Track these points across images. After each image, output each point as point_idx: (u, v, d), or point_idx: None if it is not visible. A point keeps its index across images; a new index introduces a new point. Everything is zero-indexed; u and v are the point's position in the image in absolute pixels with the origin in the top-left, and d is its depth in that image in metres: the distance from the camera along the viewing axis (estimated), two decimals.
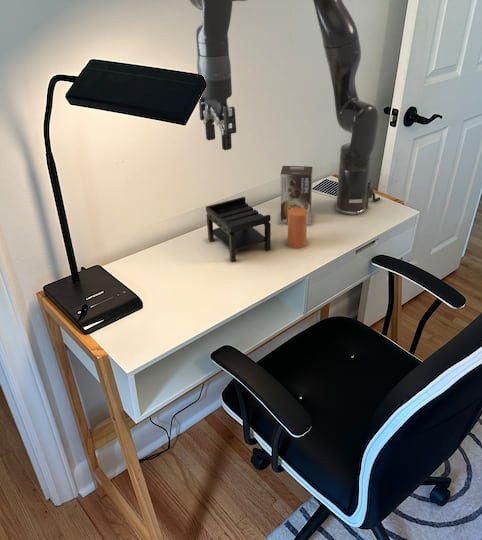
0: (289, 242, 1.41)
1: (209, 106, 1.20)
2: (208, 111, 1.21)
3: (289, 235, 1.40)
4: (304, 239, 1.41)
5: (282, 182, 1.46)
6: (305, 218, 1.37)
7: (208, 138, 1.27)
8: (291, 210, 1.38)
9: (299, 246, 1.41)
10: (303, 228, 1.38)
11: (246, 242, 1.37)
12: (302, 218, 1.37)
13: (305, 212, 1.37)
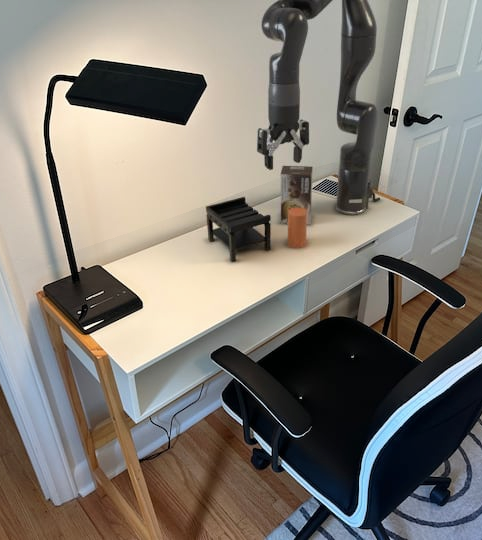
0: (289, 242, 1.41)
1: None
2: None
3: (289, 235, 1.40)
4: (304, 239, 1.41)
5: (282, 182, 1.46)
6: (305, 218, 1.37)
7: (294, 159, 1.33)
8: (291, 210, 1.38)
9: (299, 246, 1.41)
10: (303, 228, 1.38)
11: (246, 242, 1.37)
12: (302, 218, 1.37)
13: (305, 212, 1.37)
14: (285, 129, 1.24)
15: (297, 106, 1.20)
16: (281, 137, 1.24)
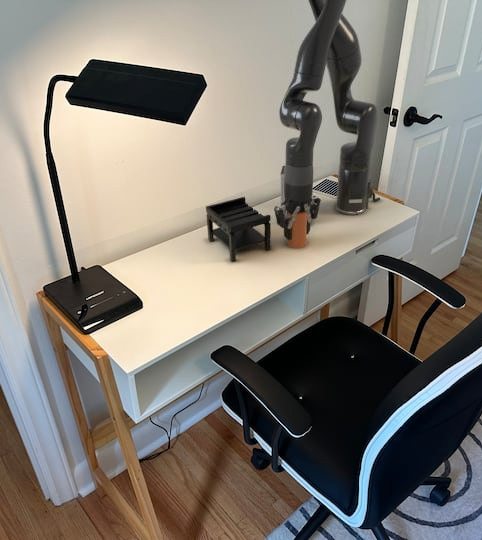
0: (289, 242, 1.41)
1: None
2: None
3: None
4: (304, 239, 1.41)
5: (282, 182, 1.46)
6: (305, 218, 1.37)
7: None
8: None
9: (299, 246, 1.41)
10: (303, 228, 1.38)
11: (246, 242, 1.37)
12: (302, 218, 1.37)
13: (305, 212, 1.37)
14: (299, 203, 1.35)
15: (310, 185, 1.32)
16: (295, 211, 1.35)
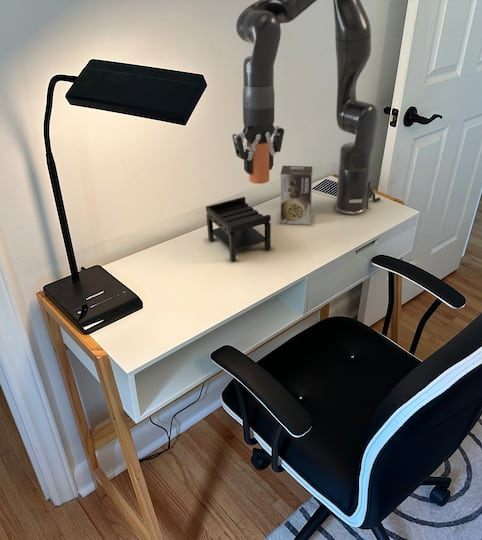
0: (250, 177, 1.30)
1: None
2: None
3: None
4: (267, 174, 1.29)
5: (282, 182, 1.46)
6: (267, 149, 1.26)
7: None
8: None
9: (261, 181, 1.29)
10: (265, 160, 1.27)
11: (246, 242, 1.37)
12: (263, 148, 1.25)
13: None
14: (260, 132, 1.24)
15: (271, 109, 1.20)
16: (255, 140, 1.24)
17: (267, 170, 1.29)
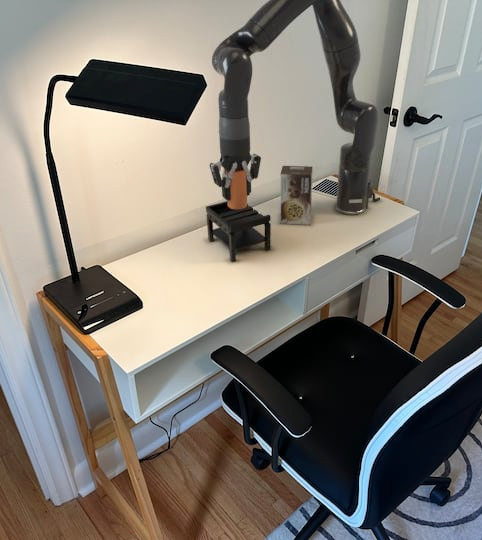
0: (228, 203, 1.34)
1: None
2: None
3: None
4: (244, 200, 1.33)
5: (282, 182, 1.46)
6: (244, 177, 1.30)
7: None
8: None
9: (239, 207, 1.33)
10: (242, 187, 1.31)
11: (246, 242, 1.37)
12: (240, 176, 1.29)
13: None
14: (236, 160, 1.28)
15: (246, 139, 1.24)
16: (232, 168, 1.28)
17: (244, 196, 1.33)
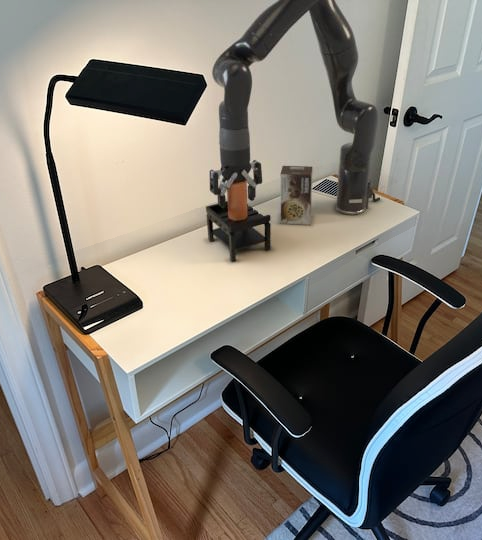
0: (229, 214, 1.36)
1: None
2: None
3: (229, 207, 1.34)
4: (244, 211, 1.35)
5: (282, 182, 1.46)
6: (244, 188, 1.32)
7: (248, 197, 1.38)
8: None
9: (239, 218, 1.35)
10: (242, 199, 1.33)
11: (246, 242, 1.37)
12: (240, 188, 1.31)
13: (244, 182, 1.32)
14: (236, 170, 1.29)
15: (246, 150, 1.25)
16: (232, 178, 1.29)
17: (245, 207, 1.35)
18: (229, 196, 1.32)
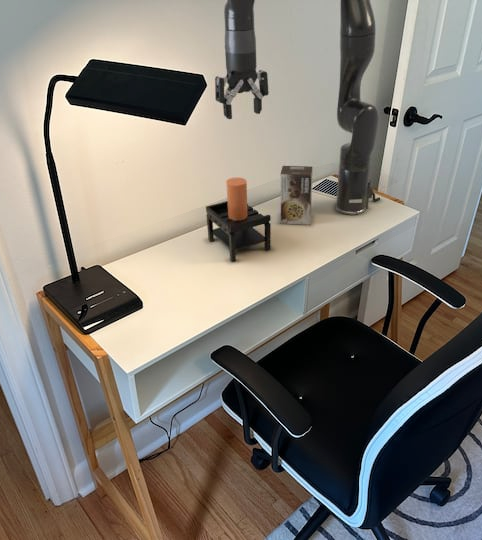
0: (229, 214, 1.36)
1: None
2: None
3: (229, 207, 1.34)
4: (244, 211, 1.35)
5: (282, 182, 1.46)
6: (244, 188, 1.32)
7: (254, 110, 1.35)
8: (230, 180, 1.33)
9: (239, 218, 1.35)
10: (242, 199, 1.33)
11: (246, 242, 1.37)
12: (240, 188, 1.31)
13: (244, 182, 1.32)
14: (242, 78, 1.27)
15: (253, 54, 1.23)
16: (238, 85, 1.27)
17: (245, 207, 1.35)
18: (229, 196, 1.32)
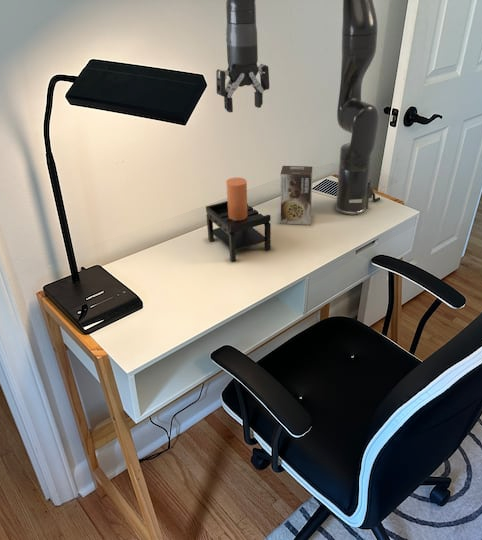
0: (229, 214, 1.36)
1: None
2: None
3: (229, 207, 1.34)
4: (244, 211, 1.35)
5: (282, 182, 1.46)
6: (244, 188, 1.32)
7: (255, 104, 1.36)
8: (230, 180, 1.33)
9: (239, 218, 1.35)
10: (242, 199, 1.33)
11: (246, 242, 1.37)
12: (240, 188, 1.31)
13: (244, 182, 1.32)
14: (244, 71, 1.28)
15: (254, 47, 1.24)
16: (239, 79, 1.27)
17: (245, 207, 1.35)
18: (229, 196, 1.32)
